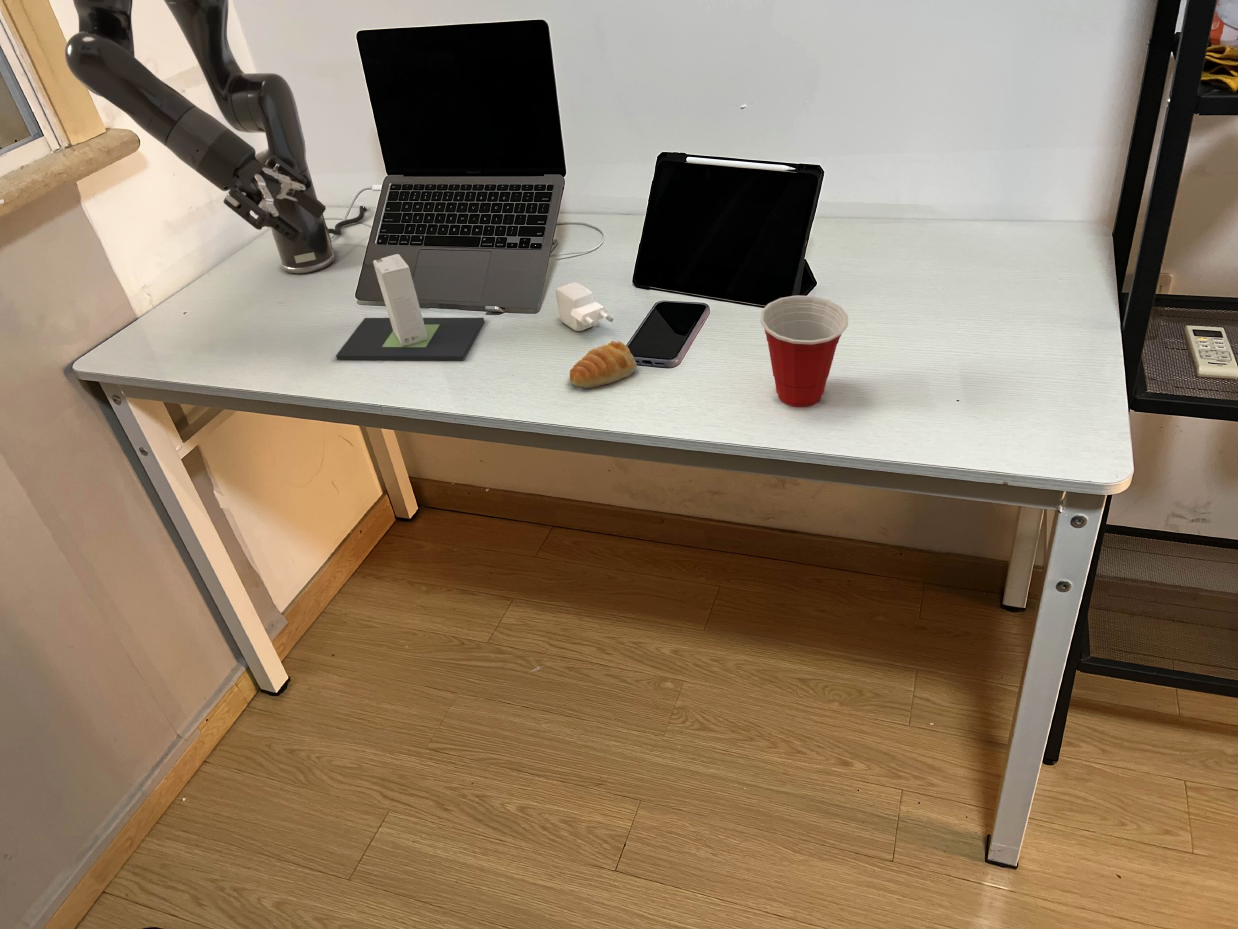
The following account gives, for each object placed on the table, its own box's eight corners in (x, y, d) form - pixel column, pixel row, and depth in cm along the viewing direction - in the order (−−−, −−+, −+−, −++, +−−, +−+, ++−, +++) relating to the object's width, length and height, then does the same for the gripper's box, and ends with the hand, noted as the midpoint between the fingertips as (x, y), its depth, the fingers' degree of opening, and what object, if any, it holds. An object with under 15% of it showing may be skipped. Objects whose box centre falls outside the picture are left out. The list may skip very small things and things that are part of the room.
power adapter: (620, 337, 137) (617, 302, 134) (593, 348, 136) (589, 313, 132) (581, 311, 145) (577, 277, 142) (555, 321, 143) (550, 287, 140)
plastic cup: (787, 428, 115) (790, 345, 108) (743, 388, 123) (743, 308, 116) (859, 404, 118) (867, 321, 111) (812, 366, 126) (817, 287, 119)
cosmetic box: (429, 339, 140) (412, 266, 133) (401, 348, 139) (381, 274, 131) (418, 323, 145) (401, 251, 137) (390, 331, 143) (371, 259, 136)
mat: (366, 321, 149) (364, 316, 148) (484, 321, 145) (483, 316, 145) (337, 360, 139) (335, 354, 139) (463, 360, 136) (461, 355, 135)
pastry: (588, 398, 125) (585, 373, 123) (559, 380, 129) (556, 356, 127) (641, 371, 129) (639, 347, 127) (611, 355, 134) (609, 332, 131)
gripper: (196, 147, 121) (303, 227, 126) (245, 112, 132) (341, 188, 137) (175, 187, 125) (279, 264, 130) (224, 150, 136) (318, 222, 141)
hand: (311, 225), depth 133 cm, fingers open, 8 cm apart
